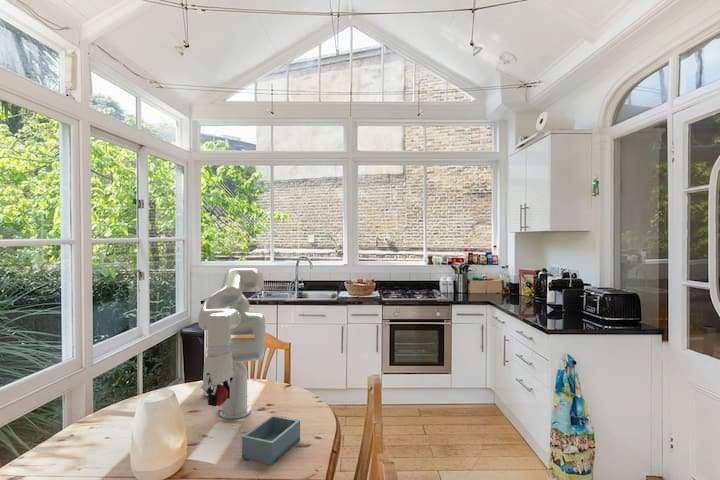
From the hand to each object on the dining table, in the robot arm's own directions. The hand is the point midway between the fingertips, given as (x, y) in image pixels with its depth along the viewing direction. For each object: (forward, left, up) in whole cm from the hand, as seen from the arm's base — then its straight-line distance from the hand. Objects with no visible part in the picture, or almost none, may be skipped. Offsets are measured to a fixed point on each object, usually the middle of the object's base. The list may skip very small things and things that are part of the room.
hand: (219, 401), depth 137 cm
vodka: (-40, +43, -18) cm, 61 cm away
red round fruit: (0, 0, -2) cm, 2 cm away
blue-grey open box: (+15, +10, -18) cm, 25 cm away
